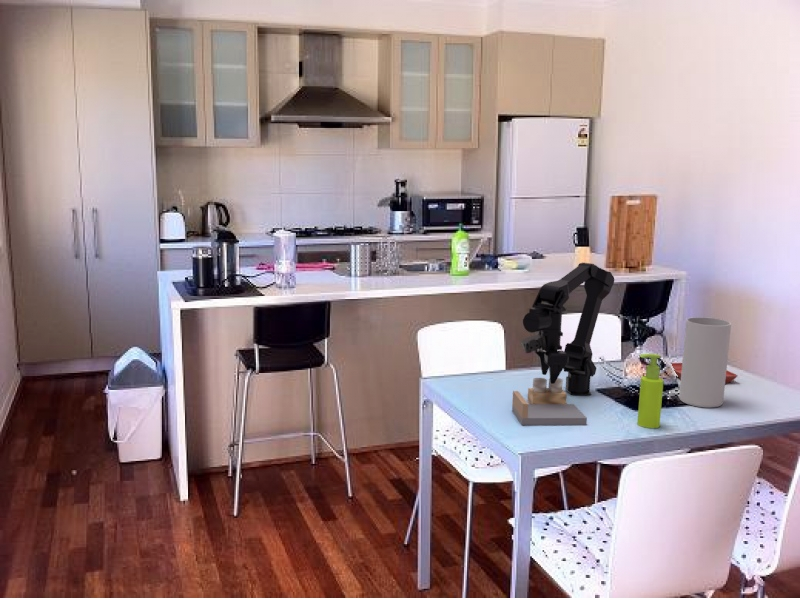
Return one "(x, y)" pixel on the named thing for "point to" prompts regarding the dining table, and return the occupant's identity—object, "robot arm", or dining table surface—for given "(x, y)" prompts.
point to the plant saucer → (678, 369)
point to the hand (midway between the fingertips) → (548, 379)
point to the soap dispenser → (650, 394)
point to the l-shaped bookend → (546, 413)
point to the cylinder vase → (704, 361)
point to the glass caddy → (546, 392)
